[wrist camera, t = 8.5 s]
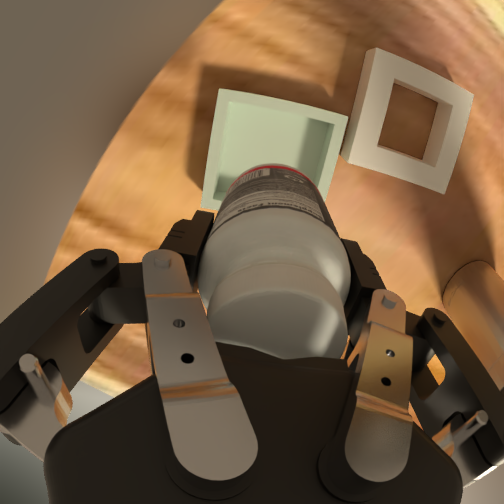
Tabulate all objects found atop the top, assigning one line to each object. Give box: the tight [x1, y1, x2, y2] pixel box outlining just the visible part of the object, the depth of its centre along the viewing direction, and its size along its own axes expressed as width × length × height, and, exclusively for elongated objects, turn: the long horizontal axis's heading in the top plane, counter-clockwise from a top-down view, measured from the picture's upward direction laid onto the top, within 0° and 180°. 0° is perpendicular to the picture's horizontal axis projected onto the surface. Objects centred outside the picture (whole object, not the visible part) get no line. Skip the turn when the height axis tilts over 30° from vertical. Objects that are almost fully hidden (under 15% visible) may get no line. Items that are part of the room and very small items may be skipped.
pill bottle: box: [197, 163, 351, 359], centre depth 12 cm, size 5×5×10 cm
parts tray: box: [201, 88, 348, 211], centre depth 27 cm, size 11×11×3 cm
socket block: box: [340, 47, 474, 194], centre depth 24 cm, size 11×11×3 cm
